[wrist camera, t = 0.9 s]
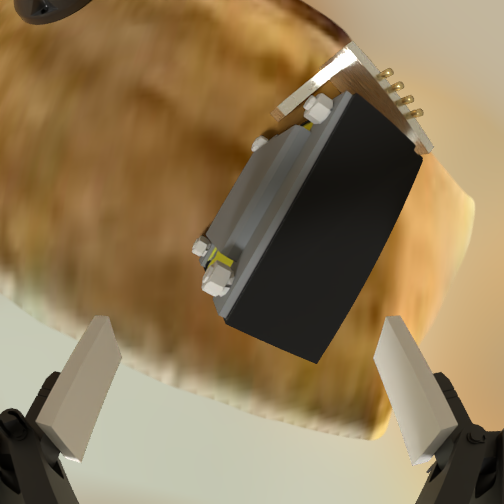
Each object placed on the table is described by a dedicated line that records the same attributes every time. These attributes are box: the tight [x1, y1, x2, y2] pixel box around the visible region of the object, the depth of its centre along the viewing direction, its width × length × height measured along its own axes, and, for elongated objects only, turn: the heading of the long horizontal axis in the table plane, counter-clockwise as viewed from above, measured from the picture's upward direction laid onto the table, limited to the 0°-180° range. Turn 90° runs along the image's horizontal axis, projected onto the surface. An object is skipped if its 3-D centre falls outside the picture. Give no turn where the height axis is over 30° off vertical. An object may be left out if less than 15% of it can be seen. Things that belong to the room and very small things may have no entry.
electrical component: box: [192, 91, 423, 364], centre depth 29 cm, size 18×10×20 cm, turn 149°
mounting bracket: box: [270, 41, 434, 155], centre depth 35 cm, size 17×12×10 cm
